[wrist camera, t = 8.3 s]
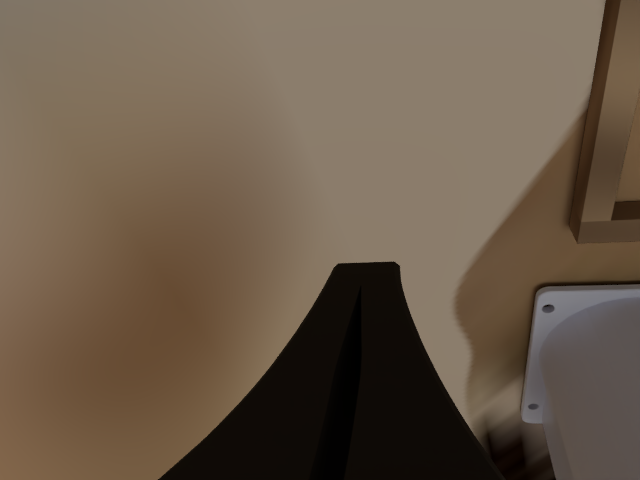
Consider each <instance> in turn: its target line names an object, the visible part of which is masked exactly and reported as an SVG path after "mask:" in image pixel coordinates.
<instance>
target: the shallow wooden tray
mask: <svg viewBox="0 0 640 480" xmlns="http://www.w3.org/2000/svg"><path fill="white" fill-rule="evenodd" d="M639 90H640V0H606V3H605V9H604V15H603V21H602V27H601V33H600V40H599V46H598V52H597V58H596V64H595V70H594V76H593V82H592V89H591V95H590V101H589V107H588V113H587V119H586V125H585V131H584V138H583V144H582V150H581V156H580V162H579V168H578V174H577V180H576V187H575V193H574V199H573V205H572V211H571V217H570V223H569V227H570V229H571V231H572V233H573V235H574V238H575V240H576V242H577V244H581V243H607V242H633V241H640V201H633V202H615V199H616V194H617V190H618V185H619V181H620V176H621V171H622V167H623V162H624V158H625V153H626V149H627V144H628V140H629V135H630V131H631V126H632V121H633V117H634V112H635V108H636V103H637V99H638V94H639Z"/></svg>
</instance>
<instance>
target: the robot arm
mask: <svg viewBox="0 0 640 480" xmlns="http://www.w3.org/2000/svg"><path fill="white" fill-rule="evenodd" d="M548 304H550V306H548V307H543V306H545V305H548ZM520 413H521V417H522V420H523V421H524V422H527V423H539V424H542V425H543V429H544V433H545V437H546V441H547V445H548V449H549V453H550V457H551V461H552V465H553V469H554V473H555V477H556V480H640V284H632V285H589V286H549V287H543V288H541V289H540V290H538V291H537V293H536V295H535V303H534V311H533V319H532V326H531V334H530V342H529V350H528V357H527V365H526V373H525V381H524V388H523V396H522V404H521V412H520ZM158 480H506V479H505V478H504V477H503V475H502V474H501V472H500V471H499V470H498V468H497V467H496V465H495V464H494V463H493V461H492V460H491V458H490V457H489V455H488V454H487V453H486V451H485V450H484V448H483V447H482V446H481V444H480V443H479V441H478V440H477V438H476V437H475V436H474V434H473V433H472V431H471V430H470V428H469V426H468V425H467V423H466V422H465V420H464V419H463V417H462V415H461V414H460V412H459V411H458V409H457V407H456V406H455V404H454V402H453V401H452V399H451V397H450V396H449V394H448V392H447V390H446V389H445V387H444V385H443V383H442V381H441V380H440V378H439V376H438V374H437V372H436V370H435V368H434V366H433V364H432V362H431V360H430V358H429V356H428V354H427V352H426V350H425V348H424V346H423V343H422V341H421V339H420V336H419V334H418V331H417V329H416V327H415V324H414V322H413V319H412V317H411V314H410V311H409V308H408V306H407V302H406V299H405V296H404V292H403V288H402V284H401V277H400V266H399V265H398V264H397V263H395V262H370V263H341V264H337V265H336V266H335V267H334V268H333V270H332V272H331V275H330V276H329V278H328V280H327V282H326V284H325V286H324V288H323V289H322V291H321V293H320V294H319V296H318V298H317V300H316V301H315V303H314V305H313V307H312V308H311V310H310V311H309V313H308V314H307V316H306V317H305V319H304V320H303V322H302V323H301V325H300V326H299V328H298V329H297V331H296V333H295V334H294V335H293V337H292V338H291V340H290V341H289V342H288V344H287V345H286V346H285V348H284V349H283V350H282V352H281V353H280V355H279V356H278V357H277V359H276V360H275V361H274V363H273V364H272V365H271V367H270V368H269V369H268V370H267V372H266V373H265V374H264V375H263V376H262V378H261V379H260V380H259V381H258V382H257V384H256V385H255V386H254V387H253V388H252V389H251V391H250V392H249V393H248V394H247V395H246V396H245V397H244V398H243V400H242V401H241V402H240V403H239V404H238V405H237V406H236V407H235V408H234V409H233V410H232V411H231V412H230V413H229V414H228V416H226V418H225V419H224V420H223V421H222V422H221V423H220V424H219V425H218V426H217V427H216V428H215V429H214V430H213V431H212V432H211V433H210V434H209V435H208V436H207V437H206V438H205V439H203V440H202V441H201V442H200V443H199V444H198V445H197V446H196V447H195V448H193V449H192V450H191V451H190V452H189V453H188V454H187V455H186V456H184V457H183V458H182V459H181V460H180V461H179V462H178V463H177V464H175V465H174V466H173V467H172V468H171V469H170V470H169V471H167V472H166V473H165V474H164V475H163V476H162V477H161V478H160V479H158Z"/></svg>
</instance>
